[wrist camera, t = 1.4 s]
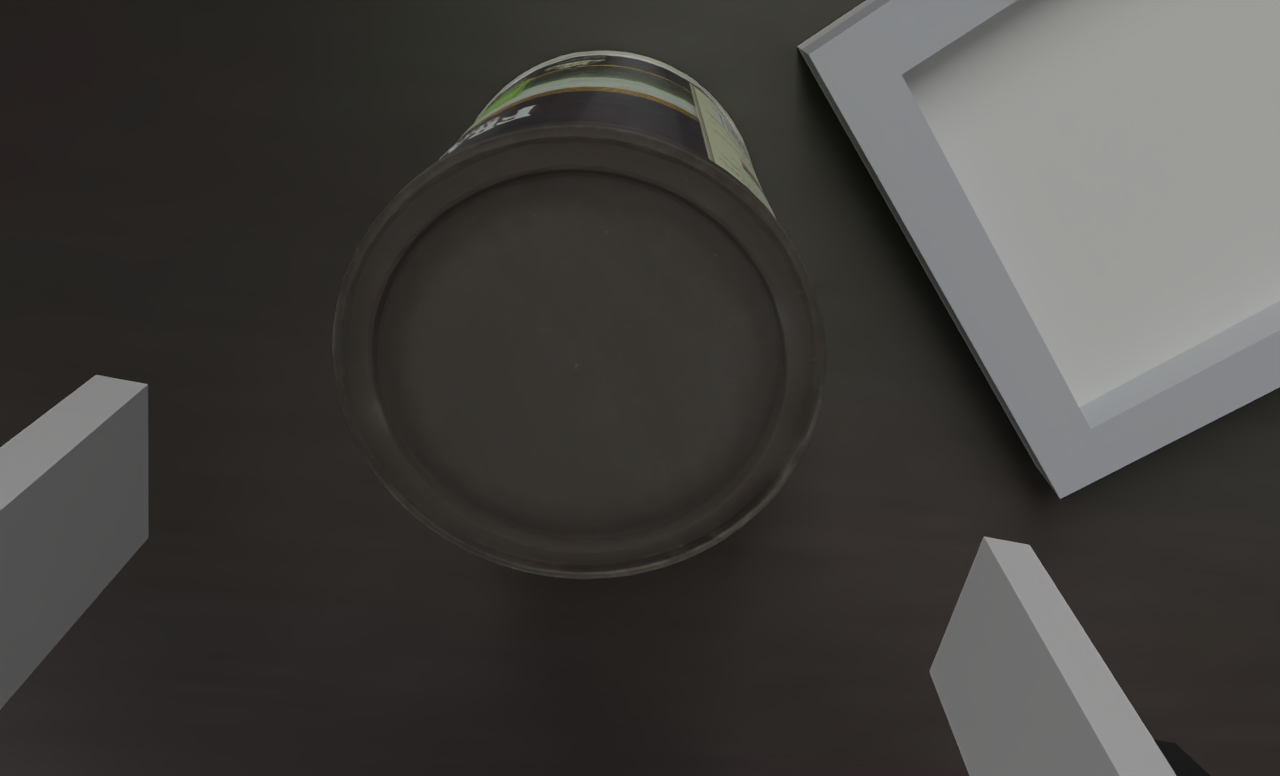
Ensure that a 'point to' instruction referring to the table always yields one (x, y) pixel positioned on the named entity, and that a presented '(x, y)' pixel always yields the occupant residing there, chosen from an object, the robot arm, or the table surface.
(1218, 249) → the plate
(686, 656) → the table surface
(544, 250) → the coffee can
